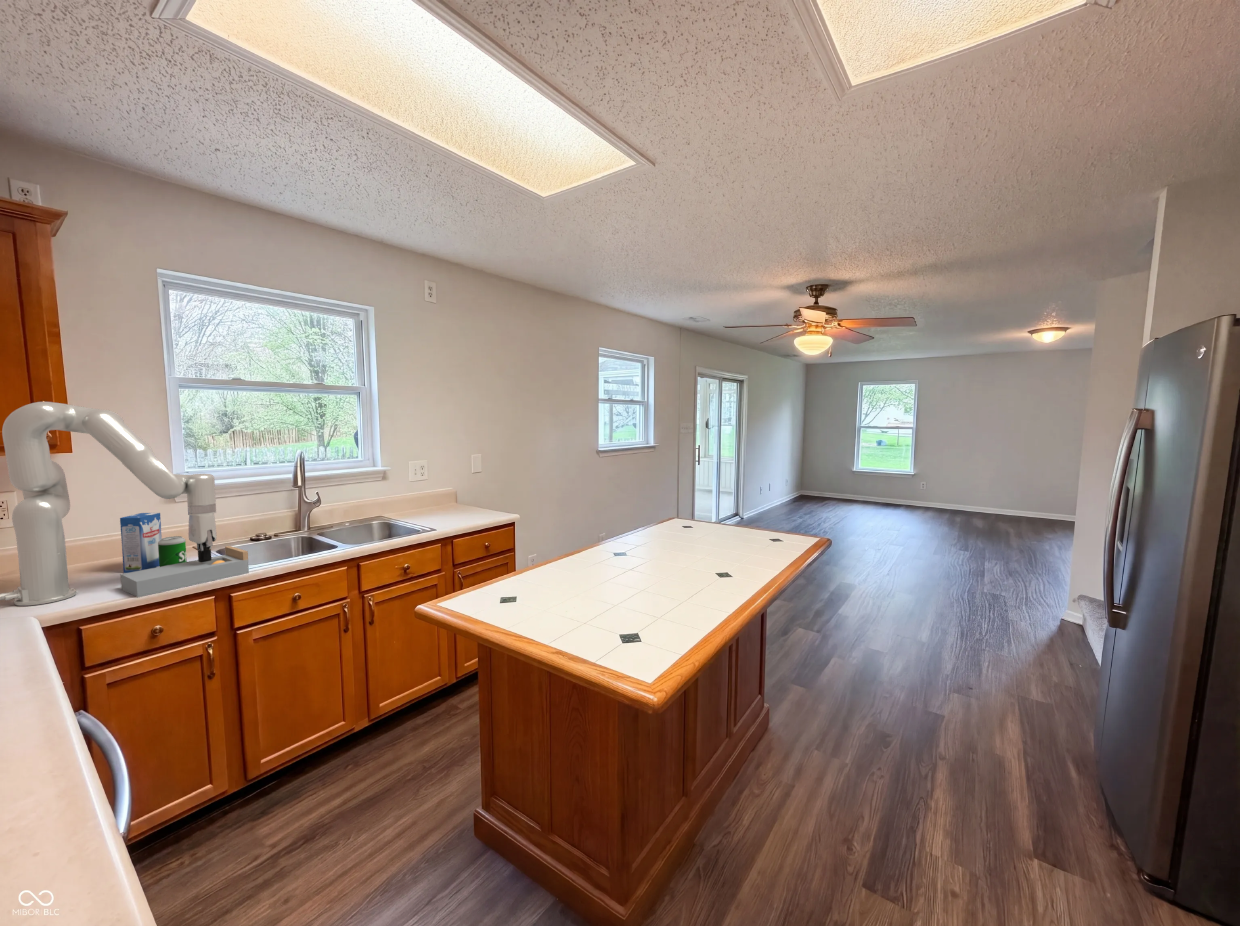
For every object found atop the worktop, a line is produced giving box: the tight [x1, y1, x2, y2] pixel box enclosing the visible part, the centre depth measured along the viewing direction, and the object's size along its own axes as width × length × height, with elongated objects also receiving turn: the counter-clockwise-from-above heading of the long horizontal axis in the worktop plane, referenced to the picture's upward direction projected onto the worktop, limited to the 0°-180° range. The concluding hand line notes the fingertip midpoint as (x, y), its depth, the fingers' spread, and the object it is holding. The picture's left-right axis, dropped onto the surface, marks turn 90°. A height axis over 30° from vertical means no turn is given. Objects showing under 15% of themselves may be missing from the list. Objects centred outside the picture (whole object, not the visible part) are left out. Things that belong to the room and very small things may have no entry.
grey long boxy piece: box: [120, 545, 250, 598], centre depth 170 cm, size 30×14×8 cm, turn 149°
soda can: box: [158, 535, 188, 567], centre depth 182 cm, size 8×8×12 cm
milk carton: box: [119, 512, 163, 574], centre depth 182 cm, size 10×6×20 cm, turn 10°
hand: (204, 561), depth 174 cm, fingers closed
